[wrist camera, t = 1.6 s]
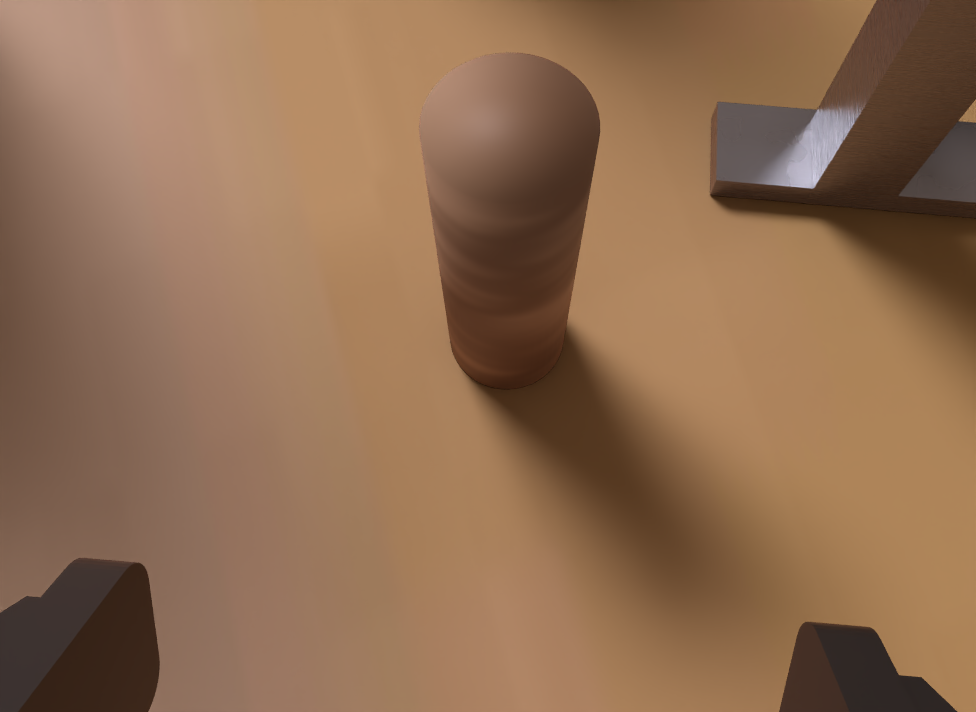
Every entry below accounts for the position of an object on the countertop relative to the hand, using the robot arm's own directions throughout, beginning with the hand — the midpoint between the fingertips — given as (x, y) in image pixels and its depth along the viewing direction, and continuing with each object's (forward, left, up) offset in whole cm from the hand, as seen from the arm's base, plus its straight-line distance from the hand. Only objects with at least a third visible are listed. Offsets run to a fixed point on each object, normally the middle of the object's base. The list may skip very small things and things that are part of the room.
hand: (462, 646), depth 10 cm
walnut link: (-1, +11, -17) cm, 20 cm away
